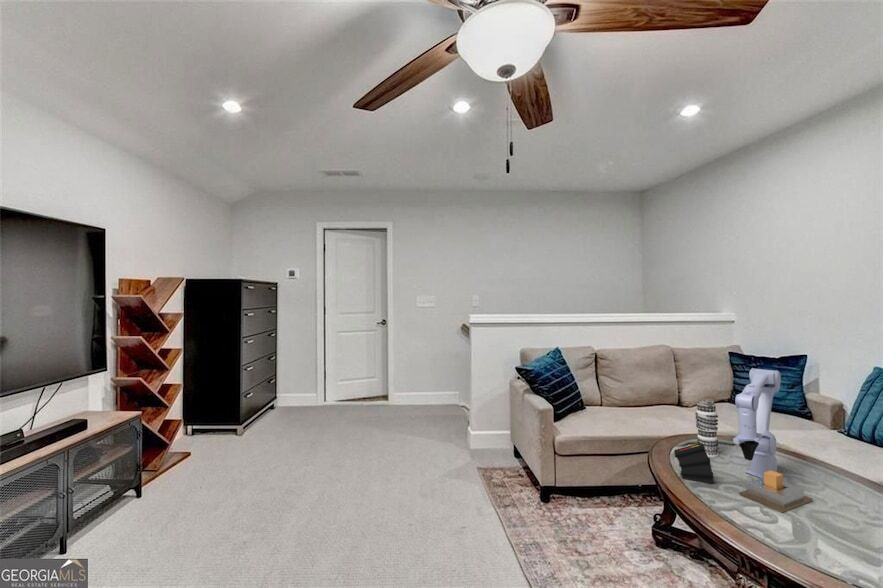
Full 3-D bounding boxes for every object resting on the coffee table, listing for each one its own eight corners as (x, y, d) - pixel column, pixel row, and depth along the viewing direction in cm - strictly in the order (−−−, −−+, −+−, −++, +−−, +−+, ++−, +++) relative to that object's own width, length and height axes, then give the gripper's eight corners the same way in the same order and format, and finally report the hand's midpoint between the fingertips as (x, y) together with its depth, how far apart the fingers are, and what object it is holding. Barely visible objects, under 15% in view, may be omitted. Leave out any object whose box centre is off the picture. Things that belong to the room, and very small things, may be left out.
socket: (769, 485, 161) (768, 473, 161) (812, 501, 148) (812, 488, 148) (739, 495, 155) (739, 483, 155) (782, 512, 142) (781, 499, 142)
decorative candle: (721, 452, 194) (719, 400, 194) (717, 459, 187) (715, 404, 187) (698, 448, 200) (697, 397, 200) (694, 454, 193) (692, 401, 193)
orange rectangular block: (771, 491, 154) (770, 470, 154) (783, 496, 151) (782, 474, 151) (764, 493, 153) (764, 472, 153) (776, 498, 149) (776, 476, 149)
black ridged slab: (722, 482, 162) (702, 445, 165) (688, 490, 168) (668, 454, 171) (722, 478, 165) (701, 442, 168) (688, 486, 171) (669, 451, 175)
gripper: (746, 430, 155) (747, 466, 155) (770, 425, 161) (771, 459, 160) (727, 425, 162) (728, 459, 161) (750, 420, 167) (751, 453, 167)
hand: (748, 459), depth 161 cm, fingers closed
